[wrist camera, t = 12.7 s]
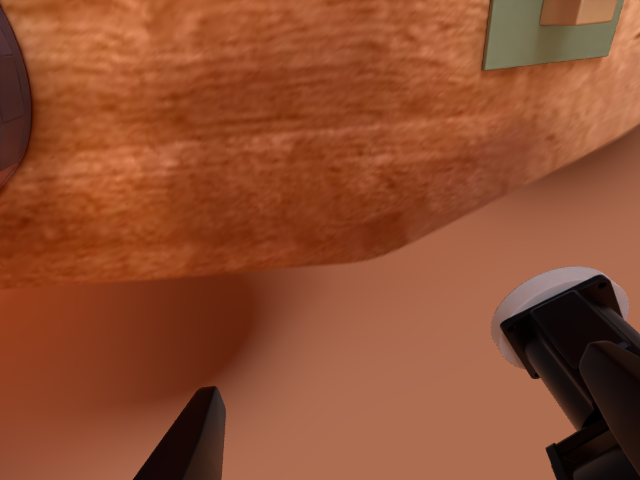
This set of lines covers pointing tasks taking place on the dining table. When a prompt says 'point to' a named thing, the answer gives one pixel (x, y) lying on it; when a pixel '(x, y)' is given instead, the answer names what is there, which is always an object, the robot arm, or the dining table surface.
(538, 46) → the mat
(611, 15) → the beige slabs
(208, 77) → the dining table surface
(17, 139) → the bowl
